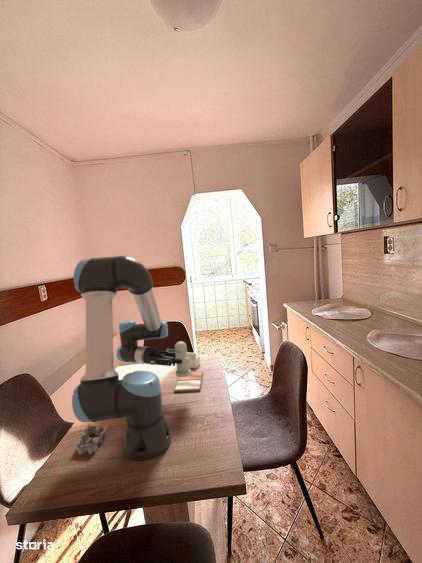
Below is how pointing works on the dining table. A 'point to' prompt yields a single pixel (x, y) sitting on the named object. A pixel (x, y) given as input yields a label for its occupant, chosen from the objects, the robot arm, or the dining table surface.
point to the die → (194, 362)
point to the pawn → (182, 352)
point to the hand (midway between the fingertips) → (192, 358)
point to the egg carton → (90, 439)
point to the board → (189, 383)
